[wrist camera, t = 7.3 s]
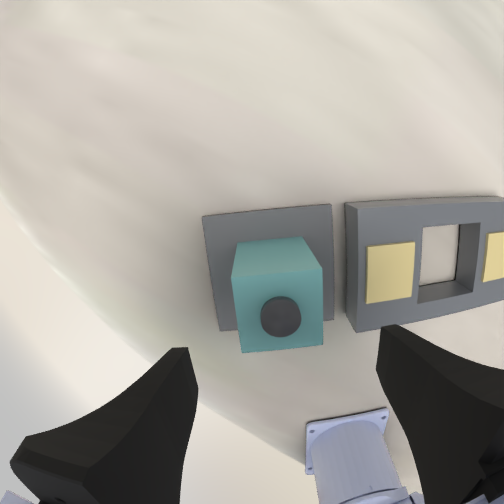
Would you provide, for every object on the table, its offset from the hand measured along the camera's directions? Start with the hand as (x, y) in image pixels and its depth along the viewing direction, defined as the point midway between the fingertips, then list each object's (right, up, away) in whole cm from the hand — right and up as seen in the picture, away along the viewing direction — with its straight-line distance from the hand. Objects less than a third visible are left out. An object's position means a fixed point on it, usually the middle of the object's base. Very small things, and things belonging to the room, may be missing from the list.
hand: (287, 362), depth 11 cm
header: (+12, +4, +9) cm, 15 cm away
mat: (0, +3, +9) cm, 10 cm away
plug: (0, +3, +9) cm, 9 cm away
